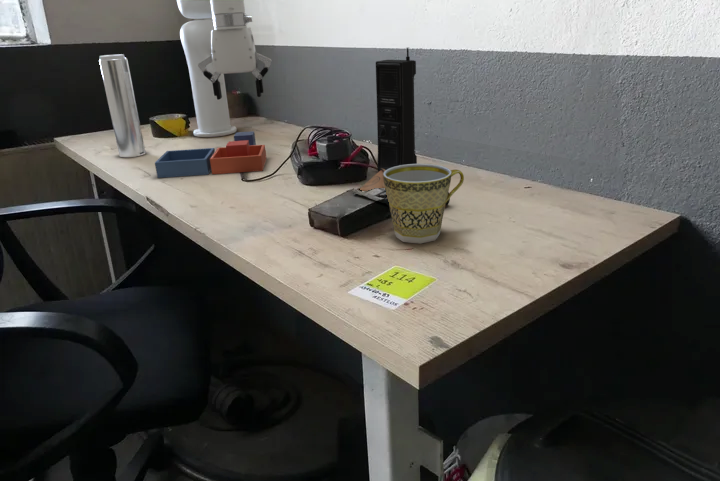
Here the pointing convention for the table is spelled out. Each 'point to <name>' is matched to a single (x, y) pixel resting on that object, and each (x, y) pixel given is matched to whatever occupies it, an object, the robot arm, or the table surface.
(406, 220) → the ceramic cup
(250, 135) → the blue block
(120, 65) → the shiny metal cylinder
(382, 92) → the portable radio
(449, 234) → the table surface
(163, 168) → the blue bin
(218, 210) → the table surface
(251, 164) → the red bin
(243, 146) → the red block
